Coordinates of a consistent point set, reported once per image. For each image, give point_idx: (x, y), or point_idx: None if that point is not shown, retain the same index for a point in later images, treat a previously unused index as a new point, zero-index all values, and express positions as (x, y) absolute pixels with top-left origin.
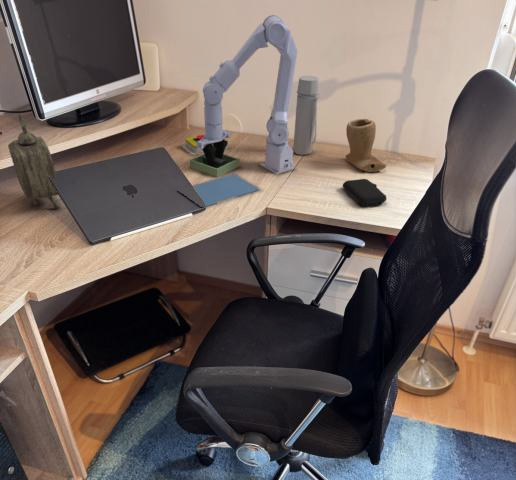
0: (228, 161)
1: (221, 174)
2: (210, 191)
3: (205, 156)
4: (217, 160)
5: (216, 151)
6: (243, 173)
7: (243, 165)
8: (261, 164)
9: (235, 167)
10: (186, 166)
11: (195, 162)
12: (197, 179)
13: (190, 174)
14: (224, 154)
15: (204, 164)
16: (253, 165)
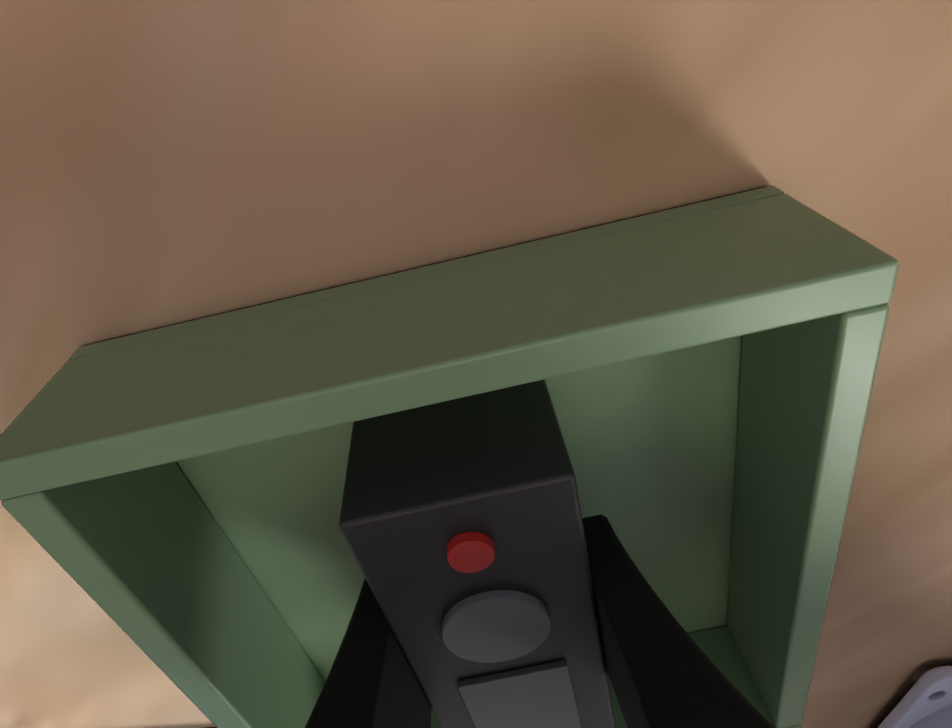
0: (746, 557)
1: None
2: None
3: (421, 526)
4: (487, 722)
5: (640, 723)
6: None
7: (829, 597)
8: (936, 691)
9: None
10: (22, 213)
11: (92, 579)
12: (75, 651)
13: (12, 519)
14: (817, 569)
15: (219, 709)
16: (896, 634)
